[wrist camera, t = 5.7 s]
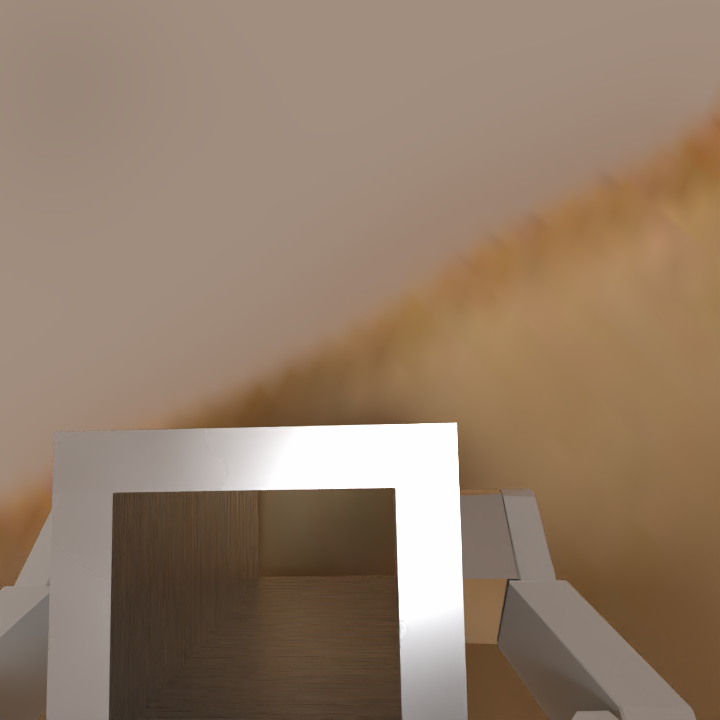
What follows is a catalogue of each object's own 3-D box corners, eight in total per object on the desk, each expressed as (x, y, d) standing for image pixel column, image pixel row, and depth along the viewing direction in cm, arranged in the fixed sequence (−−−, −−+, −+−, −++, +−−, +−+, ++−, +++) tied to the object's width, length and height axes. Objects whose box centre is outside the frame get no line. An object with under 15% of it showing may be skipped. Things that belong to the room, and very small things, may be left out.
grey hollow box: (426, 606, 15) (472, 824, 7) (228, 607, 15) (43, 823, 7) (420, 423, 15) (456, 422, 7) (228, 428, 15) (54, 431, 7)
